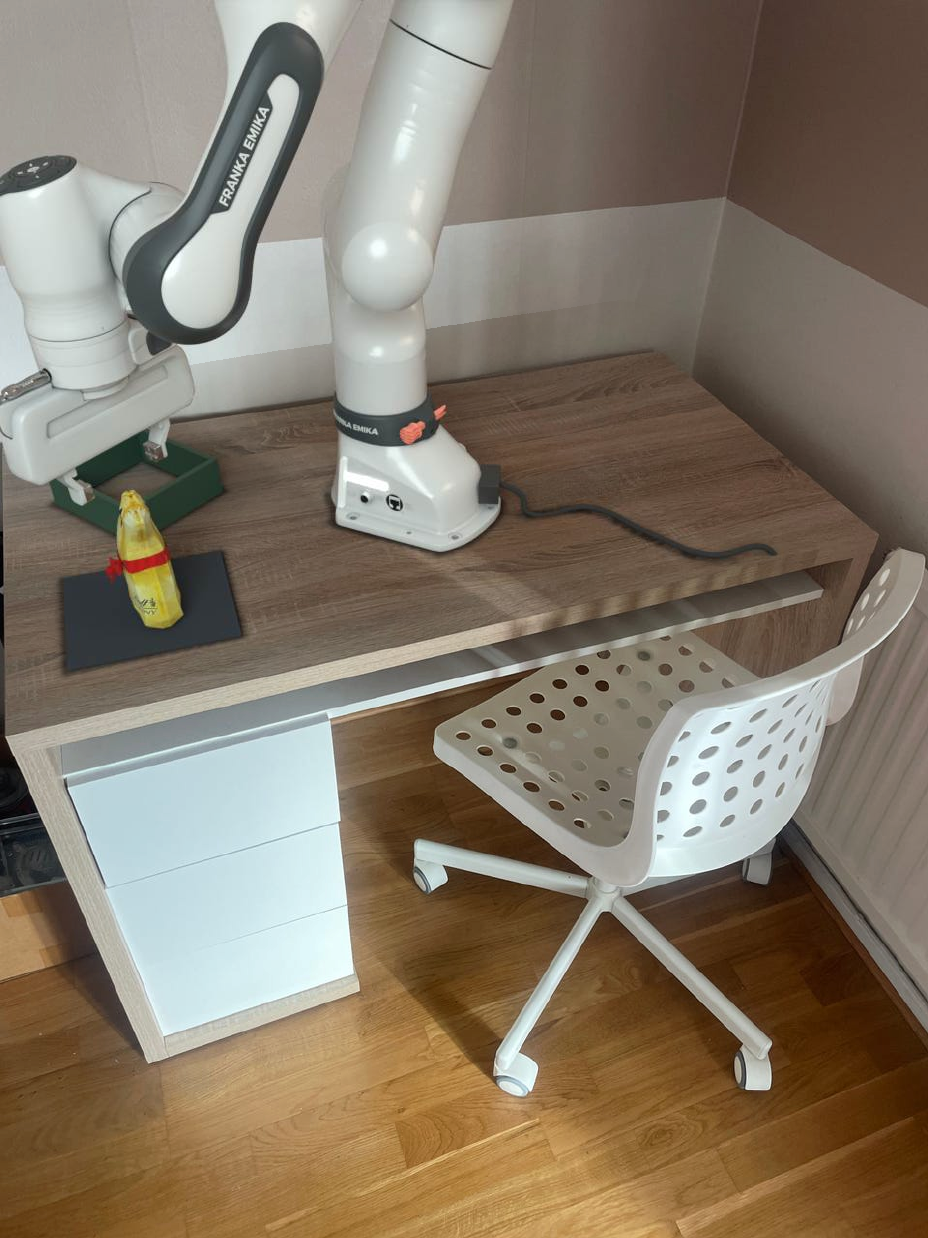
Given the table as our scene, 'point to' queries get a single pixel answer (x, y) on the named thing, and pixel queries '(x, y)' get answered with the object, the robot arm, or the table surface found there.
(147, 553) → the chocolate bunny
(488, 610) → the table surface
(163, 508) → the crate
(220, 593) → the mat
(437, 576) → the table surface
